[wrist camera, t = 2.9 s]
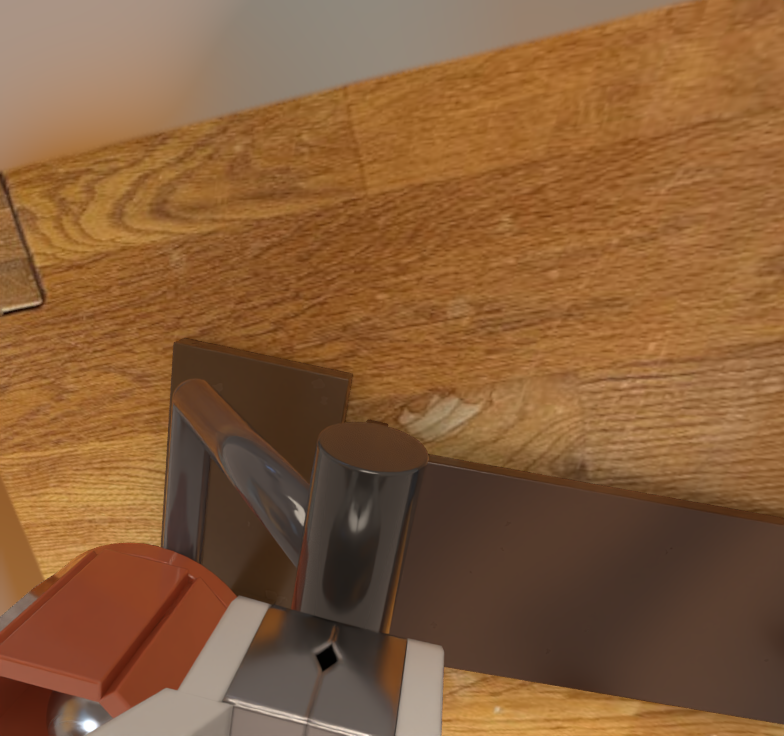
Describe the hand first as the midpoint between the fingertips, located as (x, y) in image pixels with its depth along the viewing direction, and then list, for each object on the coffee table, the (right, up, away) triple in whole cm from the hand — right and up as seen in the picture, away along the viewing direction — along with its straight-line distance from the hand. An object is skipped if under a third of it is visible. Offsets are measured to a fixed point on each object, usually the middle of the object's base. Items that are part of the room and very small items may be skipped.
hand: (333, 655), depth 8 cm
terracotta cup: (-4, -2, +9) cm, 10 cm away
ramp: (+11, -6, +17) cm, 21 cm away
